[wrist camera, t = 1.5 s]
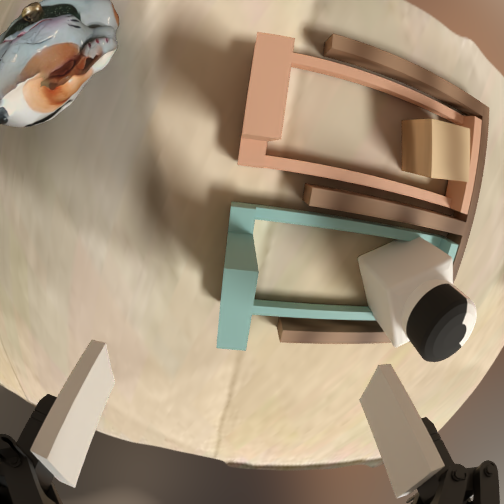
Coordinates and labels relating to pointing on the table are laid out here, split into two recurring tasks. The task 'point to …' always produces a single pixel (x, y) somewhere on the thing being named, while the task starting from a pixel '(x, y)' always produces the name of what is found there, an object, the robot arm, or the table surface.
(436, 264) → the medicine bottle
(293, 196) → the table surface
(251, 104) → the sled
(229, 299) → the frame
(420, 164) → the oak cube
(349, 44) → the lane rails
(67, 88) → the lucky cat figurine
